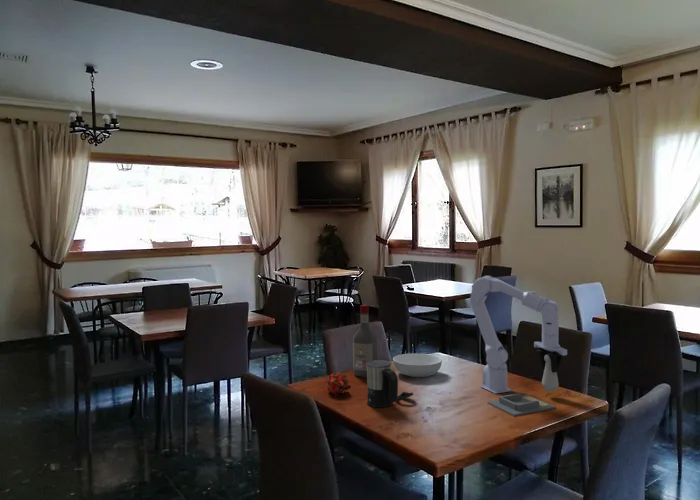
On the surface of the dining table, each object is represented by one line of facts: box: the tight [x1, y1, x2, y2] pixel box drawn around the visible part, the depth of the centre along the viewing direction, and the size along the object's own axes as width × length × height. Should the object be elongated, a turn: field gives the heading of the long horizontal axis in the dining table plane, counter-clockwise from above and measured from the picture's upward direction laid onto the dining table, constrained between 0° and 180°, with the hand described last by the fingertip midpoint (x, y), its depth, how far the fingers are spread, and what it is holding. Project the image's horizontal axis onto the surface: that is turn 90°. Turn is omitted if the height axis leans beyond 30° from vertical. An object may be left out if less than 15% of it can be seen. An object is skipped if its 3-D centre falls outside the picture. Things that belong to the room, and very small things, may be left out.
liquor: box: [352, 304, 378, 378], centre depth 226 cm, size 9×9×30 cm
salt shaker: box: [541, 354, 560, 393], centre depth 192 cm, size 6×6×13 cm
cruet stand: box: [487, 392, 557, 417], centre depth 184 cm, size 14×18×3 cm
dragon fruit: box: [326, 371, 352, 396], centre depth 202 cm, size 8×8×12 cm
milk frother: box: [366, 359, 414, 408], centre depth 190 cm, size 14×16×15 cm
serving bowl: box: [392, 352, 443, 378], centre depth 225 cm, size 21×21×7 cm
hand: (550, 370), depth 193 cm, fingers closed on salt shaker, 4 cm apart
